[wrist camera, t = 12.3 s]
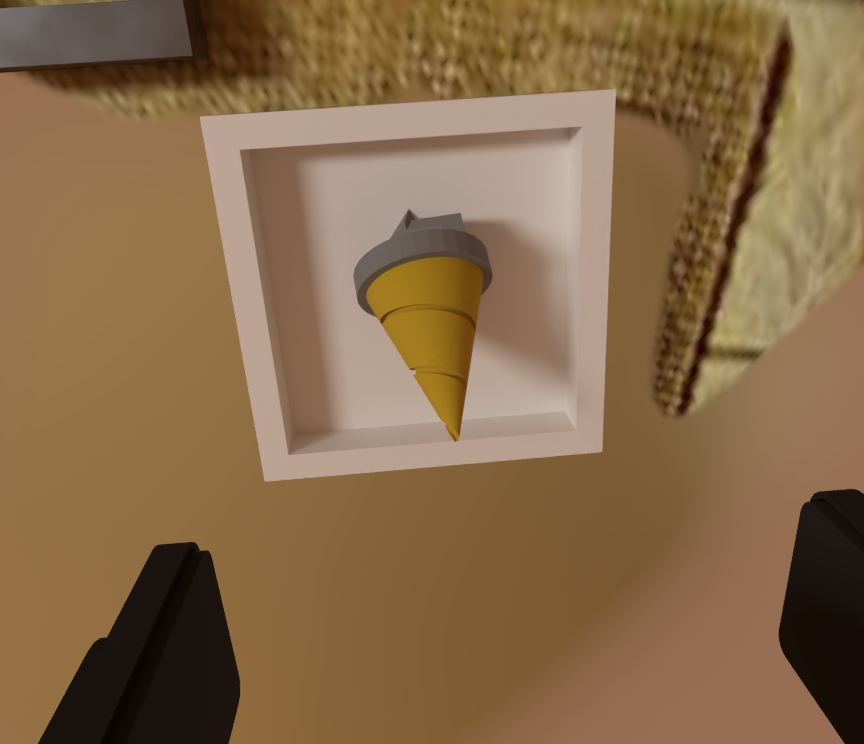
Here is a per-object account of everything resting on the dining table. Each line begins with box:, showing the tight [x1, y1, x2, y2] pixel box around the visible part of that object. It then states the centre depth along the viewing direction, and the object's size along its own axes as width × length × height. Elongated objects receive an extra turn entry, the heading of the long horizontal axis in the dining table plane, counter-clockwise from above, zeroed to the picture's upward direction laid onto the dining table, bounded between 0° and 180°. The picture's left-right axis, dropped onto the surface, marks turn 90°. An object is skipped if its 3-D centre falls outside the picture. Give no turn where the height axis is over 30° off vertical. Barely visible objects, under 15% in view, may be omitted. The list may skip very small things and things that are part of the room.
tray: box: [200, 89, 616, 481], centre depth 29 cm, size 15×15×3 cm
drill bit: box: [353, 209, 493, 442], centre depth 26 cm, size 5×5×10 cm
